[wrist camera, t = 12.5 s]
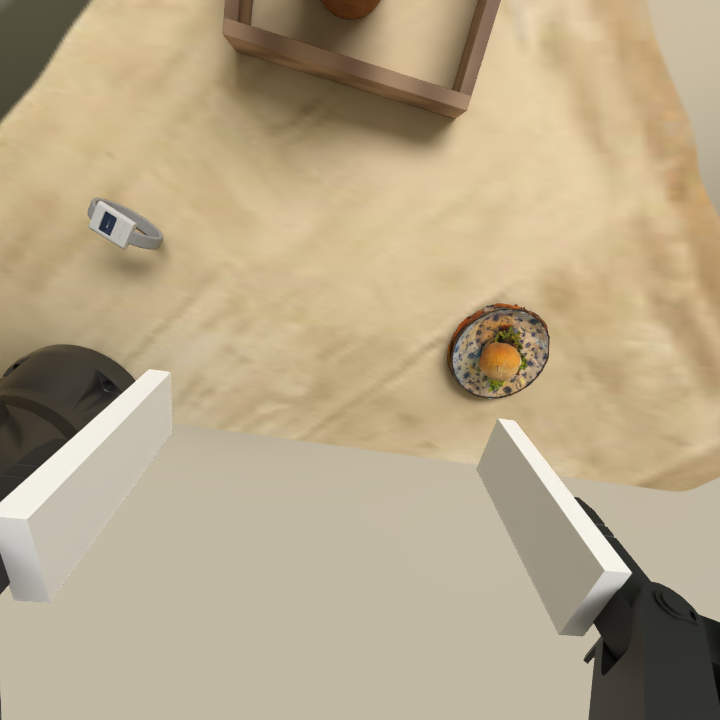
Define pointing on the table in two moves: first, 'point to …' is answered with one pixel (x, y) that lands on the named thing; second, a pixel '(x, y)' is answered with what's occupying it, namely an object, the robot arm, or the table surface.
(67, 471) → the robot arm
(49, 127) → the table surface
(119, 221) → the wristwatch
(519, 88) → the table surface
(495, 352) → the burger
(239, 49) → the rectangular wooden frame
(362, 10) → the disposable coffee cup
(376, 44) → the table surface
